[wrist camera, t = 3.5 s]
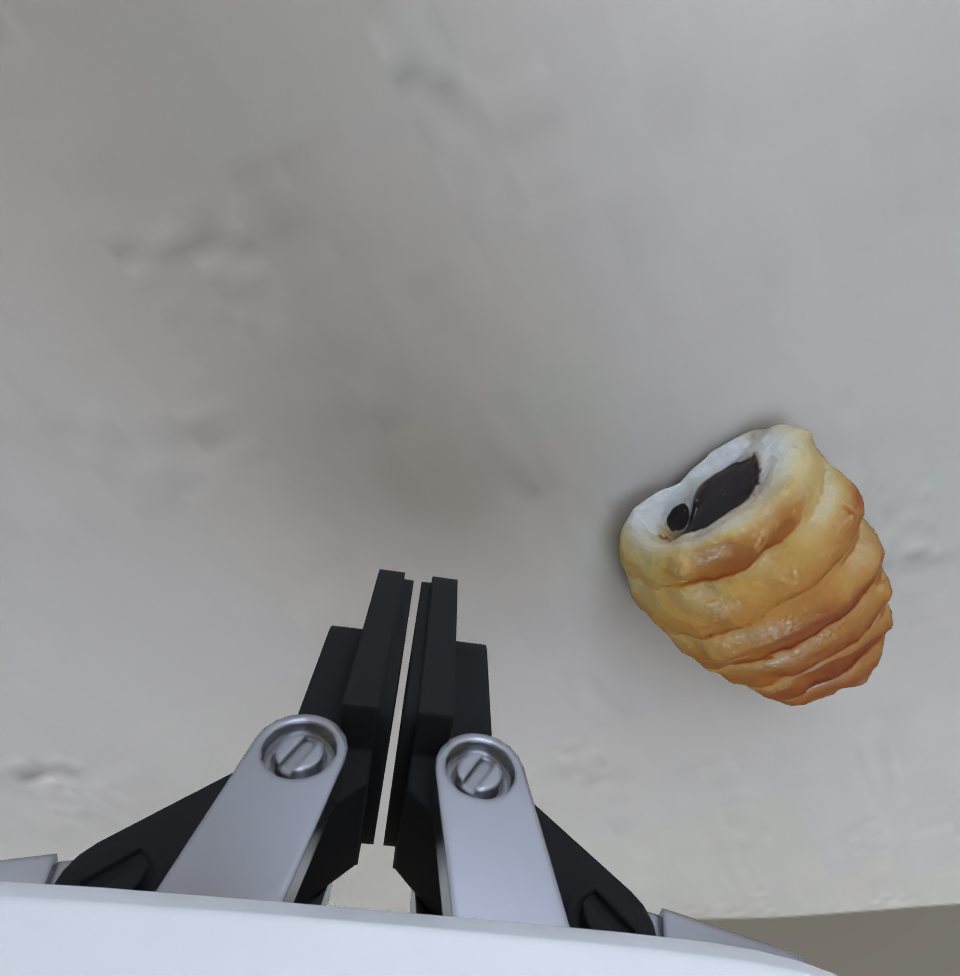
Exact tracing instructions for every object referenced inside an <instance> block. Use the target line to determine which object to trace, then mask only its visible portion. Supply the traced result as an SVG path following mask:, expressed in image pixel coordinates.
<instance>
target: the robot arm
mask: <svg viewBox="0 0 960 976" xmlns="http://www.w3.org/2000/svg"><path fill="white" fill-rule="evenodd" d="M404 577H405V573H404V572H397V571H389V570H382V569H380V570H379V573H378V577H377V580H376V584H375V587H374V591H373V595H372V598H371V602H370V605H369V609H368V613H367V616H366V620H365V623H364V627H363V629H356V628H348V627H340V626H331V628H330V630H329V632H328V635H327V638H326V640H325V643H324V646H323V648H322V651H321V654H320V656H319V659H318V662H317V665H316V667H315V670H314V673H313V675H312V678H311V681H310V684H309V686H308V689H307V692H306V694H305V697H304V700H303V702H302V705H301V708H300V711H299V713H298V715H291V716H288V717H285V718H282V719H279V720H276V721H275V722H273V723H272V724H270V725H269V726H267V727H265V728H264V729H263V730H262V732H261V733H260V734H259V735H258V736H257V737H256V738H255V740H254V741H253V743H252V744H251V746H250V747H249V749H248V751H247V752H246V754H245V755H244V757H243V758H242V760H241V761H240V763H239V764H238V766H237V767H236V769H235V770H234V772H233V773H231V774H230V775H228V776H226V777H224V778H222V779H220V780H218V781H216V782H214V783H212V784H210V785H208V786H206V787H204V788H202V789H201V790H199V791H197V792H195V793H193V794H191V795H189V796H187V797H185V798H183V799H181V800H179V801H177V802H175V803H174V804H172V805H170V806H168V807H166V808H164V809H162V810H160V811H158V812H156V813H154V814H152V815H150V816H148V817H147V818H145V819H143V820H141V821H139V822H137V823H135V824H133V825H131V826H129V827H127V828H125V829H123V830H121V831H120V832H118V833H116V834H114V835H112V836H110V837H108V838H106V839H104V840H102V841H100V842H98V843H97V844H95V845H94V846H92V847H91V848H89V849H87V850H86V851H84V852H83V853H81V854H80V855H79V856H78V857H76V858H75V859H74V860H71V861H63V862H58V859H57V854H50V855H41V856H33V857H24V858H16V859H8V860H0V976H838V975H836V974H833V973H830V972H828V971H825V970H822V969H819V968H817V967H814V966H811V965H810V964H809V963H808V962H806V961H805V960H804V959H803V958H801V957H799V956H797V955H795V954H793V953H791V952H789V951H787V950H785V949H783V948H780V947H777V946H774V945H771V944H768V943H765V942H762V941H759V940H756V939H753V938H750V937H747V936H744V935H741V934H738V933H735V932H732V931H729V930H726V929H723V928H720V927H717V926H714V925H711V924H708V923H705V922H702V921H699V920H696V919H693V918H690V917H687V916H684V915H681V914H678V913H675V912H672V911H669V910H666V909H663V908H662V910H661V912H660V914H659V915H656V914H653V913H650V912H647V911H646V909H645V907H644V906H643V904H642V903H641V902H640V901H639V900H638V899H637V898H636V897H635V895H634V894H633V893H632V892H631V891H630V890H629V889H628V888H626V887H625V886H624V885H623V884H622V883H621V882H620V881H619V880H618V879H617V878H615V877H614V876H613V875H612V874H611V873H610V872H609V871H608V870H607V869H605V868H604V867H603V866H602V865H601V864H600V863H599V862H598V861H597V860H596V859H594V858H593V857H592V856H591V855H590V854H589V853H588V852H587V851H586V850H584V849H583V848H582V847H581V846H580V845H579V844H578V843H577V842H576V841H574V840H573V839H572V838H571V837H570V836H569V835H568V834H567V833H566V832H565V831H563V830H562V829H561V828H560V827H559V826H558V825H557V824H556V823H555V822H553V821H552V820H551V819H550V818H549V817H548V816H547V815H546V814H545V813H543V812H542V811H541V810H540V809H539V808H538V807H537V806H536V805H535V804H534V802H533V798H532V795H531V791H530V788H529V784H528V781H527V778H526V774H525V771H524V767H523V765H522V763H521V761H520V759H519V757H518V755H517V754H516V753H515V752H514V751H513V750H512V749H511V747H510V746H508V745H507V744H505V743H504V742H502V741H501V740H499V739H497V738H494V737H492V733H491V715H490V697H489V679H488V661H487V648H486V645H482V644H474V643H466V642H458V641H456V624H457V583H458V582H457V580H455V579H448V578H441V577H432V582H431V583H428V582H422V584H421V590H420V597H419V603H418V610H417V616H416V623H415V629H414V636H413V642H412V649H411V655H410V662H409V668H408V675H407V681H406V688H405V695H404V702H403V709H402V716H401V723H400V730H399V737H398V744H397V752H396V759H395V766H394V773H393V780H392V787H391V794H390V801H389V809H388V816H387V823H386V830H385V837H384V844H383V845H386V846H395V853H394V862H393V868H395V869H396V870H397V872H398V873H399V874H400V875H401V876H402V878H403V879H404V880H405V881H406V883H407V884H408V885H409V886H410V888H411V889H412V890H411V899H410V913H405V912H393V911H382V910H370V909H358V908H347V907H335V906H327V903H328V900H329V897H330V892H331V887H332V882H333V881H334V880H336V879H337V878H338V877H340V876H341V875H342V874H344V873H345V872H346V871H348V870H349V869H350V868H352V867H353V866H354V865H357V864H358V858H359V852H360V847H361V843H365V844H373V843H374V836H375V830H376V824H377V818H378V811H379V805H380V799H381V792H382V786H383V780H384V773H385V767H386V761H387V754H388V748H389V742H390V735H391V729H392V723H393V716H394V710H395V704H396V697H397V691H398V684H399V677H400V671H401V664H402V657H403V650H404V644H405V637H406V630H407V623H408V617H409V610H410V603H411V596H412V589H413V583H414V581H413V580H405V579H404Z"/></svg>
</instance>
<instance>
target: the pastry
mask: <svg viewBox="0 0 960 976" xmlns="http://www.w3.org/2000/svg"><path fill="white" fill-rule="evenodd" d="M863 516H864V502H863V498H862V496H861V494H860V492H859V490H858V489H857V487H856V486H855V485H854V484H853V483H852V482H851V481H850V480H849V479H848V478H846V477H845V476H844V475H843V474H842V473H841V472H840V471H838V470H837V469H836V468H834V467H833V466H831V464H830V463H829V462H828V461H827V460H826V459H825V458H824V456H823V455H822V454H821V453H820V451H819V450H818V449H817V447H816V446H815V443H814V440H813V436H812V433H811V432H810V431H808V430H807V429H804V428H802V427H800V426H797V425H791V424H779V425H774V426H772V427H770V428H767V429H765V430H762V429H757V430H752V431H750V432H747V433H745V434H743V435H740V436H738V437H736V438H734V439H733V440H731V441H729V442H728V443H726V444H724V445H723V446H721V447H719V448H717V449H715V450H714V451H712V452H710V454H709V455H708V456H707V457H706V458H705V459H704V460H703V461H702V462H700V463H699V464H698V465H696V466H695V467H694V468H693V469H692V470H691V471H690V472H689V473H688V474H687V475H686V476H685V478H684V479H683V480H682V481H681V482H680V483H679V484H677V485H675V486H672V487H669V488H665V489H663V490H661V491H659V492H657V493H655V494H654V495H652V496H650V497H649V498H647V499H646V500H645V501H643V502H642V503H641V504H639V505H637V506H636V507H635V508H634V509H633V510H632V511H631V513H630V515H629V517H628V519H627V520H626V522H625V524H624V526H623V528H622V530H621V533H620V542H619V550H620V560H621V564H622V565H623V567H624V569H625V571H626V574H627V578H628V581H629V587H630V592H631V595H632V598H633V599H634V601H635V602H636V603H637V605H638V606H639V607H640V609H642V610H643V611H645V612H646V613H647V614H648V615H649V616H650V618H651V619H652V620H653V622H654V623H655V624H656V625H658V626H659V627H660V628H661V629H662V630H663V631H665V632H666V633H667V634H668V635H669V637H670V638H671V639H672V641H673V642H674V643H675V645H676V646H677V647H678V648H679V650H680V651H681V652H682V653H685V654H687V655H689V656H691V657H692V658H694V659H695V660H696V661H698V662H699V663H700V664H701V665H702V666H703V667H704V668H705V669H707V670H709V671H712V672H716V673H719V674H721V675H722V676H723V677H724V678H725V679H727V680H728V681H729V682H732V683H734V684H742V685H745V686H747V687H749V688H751V689H753V690H755V691H756V692H758V693H760V694H761V695H763V696H764V697H767V698H770V699H773V700H776V701H779V702H782V703H784V704H787V705H790V706H795V705H805V704H807V703H810V702H812V701H815V700H817V699H820V698H824V697H826V696H829V695H833V694H834V693H835V692H836V691H837V690H839V689H841V688H848V687H856V686H859V685H862V684H864V683H866V682H867V680H868V678H869V676H870V675H871V672H872V671H873V669H874V668H875V667H876V666H877V665H878V663H879V661H880V658H881V655H882V650H883V645H884V638H885V634H886V632H887V631H888V630H890V629H891V628H892V626H893V621H892V611H891V609H890V607H889V604H888V603H887V602H888V601H889V600H890V598H891V596H892V588H891V585H890V581H889V578H888V577H887V575H886V574H885V572H884V570H883V568H882V563H883V558H884V554H885V552H884V548H883V546H882V544H881V542H880V540H879V538H878V535H877V534H876V533H875V530H874V529H873V528H872V527H871V526H870V525H869V523H868V522H867V521H866V520H865V519H864V518H863Z"/></svg>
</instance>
